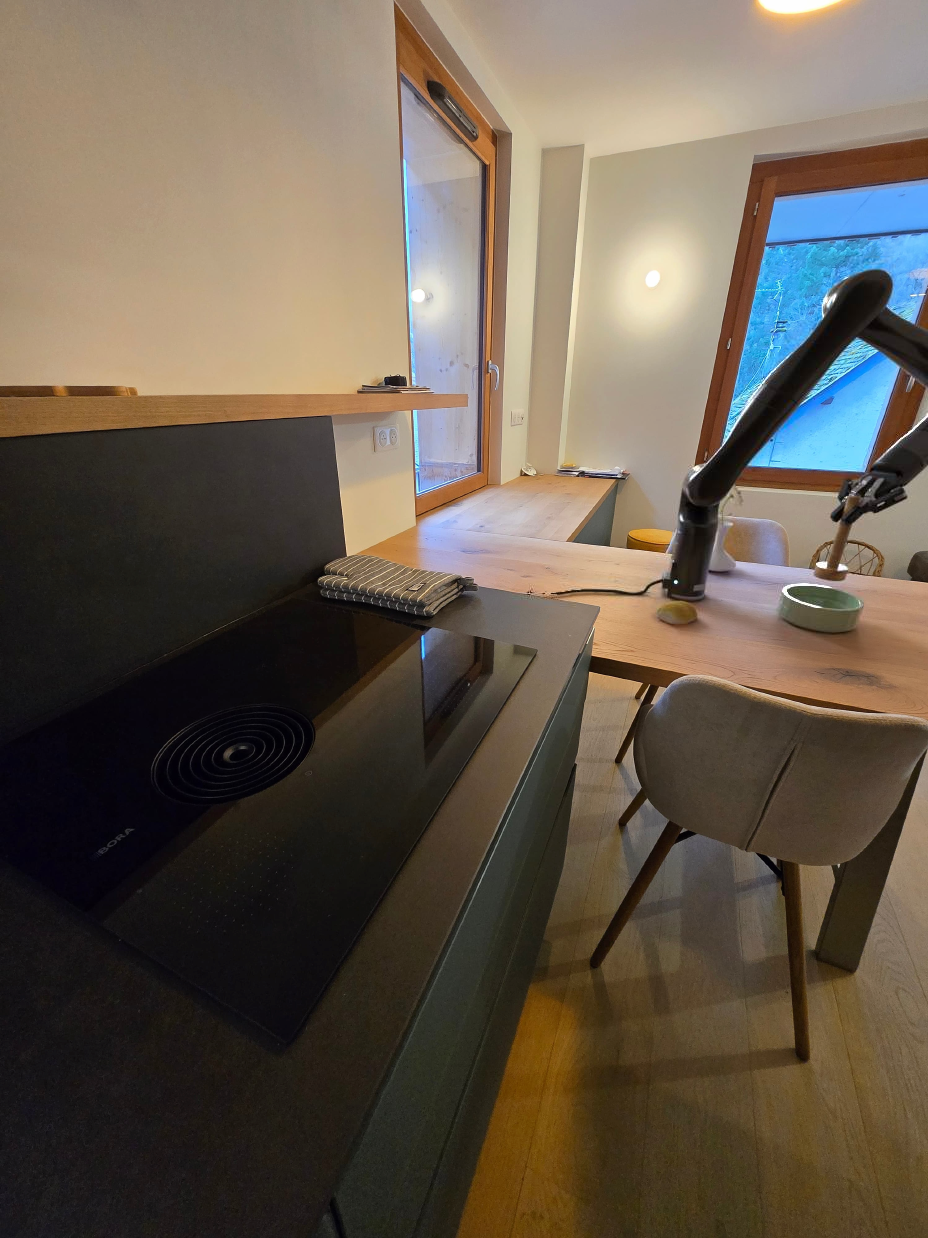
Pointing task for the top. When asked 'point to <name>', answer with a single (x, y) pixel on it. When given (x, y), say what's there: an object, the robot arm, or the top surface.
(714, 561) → the flower in vase
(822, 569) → the wooden plunger
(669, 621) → the bread roll
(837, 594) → the bowl
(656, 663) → the top surface
